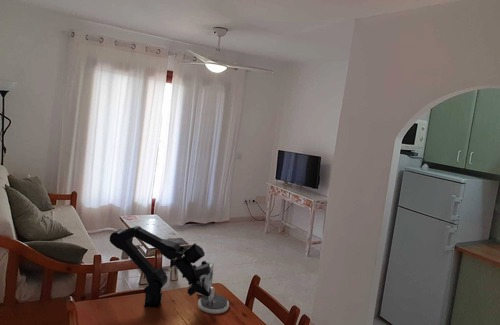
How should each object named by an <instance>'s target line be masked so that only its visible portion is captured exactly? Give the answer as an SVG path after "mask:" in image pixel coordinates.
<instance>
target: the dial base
mask: <svg viewBox="0 0 500 325" xmlns="http://www.w3.org/2000/svg"><path fill="white" fill-rule="evenodd" d="M201 298H202V297H200V298H199V299H198V302H197V308H199V310H201V311H202V312H204V313H207V314H215V315H216V314H223V313H226V312H227V311H228V310H229V307H230V302H229V301H228V299H227V305H226V306H225V307H224V308H221V309H210V308H206V307H204V306H203V305H202V304H201Z"/></svg>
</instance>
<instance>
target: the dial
mask: <svg viewBox="0 0 500 325" xmlns="http://www.w3.org/2000/svg"><path fill="white" fill-rule="evenodd" d="M215 289H216V288H215V286H212V287H209V294H210V296H208V297H207V296H203V295H202V297H200V298H201V304H202V305H203V306H204V307H206V308H210V309H221V308H224V307H225V306H226V305H227V300H228V299H227V298H226V297H224V296H223V295H220V294H215Z"/></svg>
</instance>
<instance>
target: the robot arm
mask: <svg viewBox="0 0 500 325" xmlns="http://www.w3.org/2000/svg"><path fill="white" fill-rule="evenodd" d="M132 238H136V239H138V240H140V241H141V242H144V243H146V244H147V245H149V246H151V247H152V248H155V249H156V250H158V251H159V253H160V254H161V255H162V256H163V257H165V258H166V259H167V260H169V261H170V265H169V268H170V269H172V268H174V266H175V268H176V269H177V270H178V271H179V272H180V273H181V277H182V279H185V280H186V281H187V285H188V288H187V290H186V291H187V294H188V296H189V297H191V296H193V295H194V294H195V293H197V292H198V293H200V294H203V295H205V296H207V297H208V296H210V294H209V292H208V290H207V288H206V285H205V277H204V278H203V279H202V278H200V277H201V276H202V275H205V274H209V273H210V270H211V269H210V264H209V263H210V262H209V263H207V262H208V261H206V260H202V261H201V263H200V264H201V265H200V264H199V265H200V266H199V265H198V266H196V264H195V263H196V262H198V261H199V260H201V259H202V258H204V256H205V251H204V249H203V248H202V247H201V246H200V245H198V244H197V243H193V244H192V245H190V247H185V246H182V245H180V244H179V243H178V242H175V241H171V240H167V239H166V240H165V239H164V238H161V237H159V236H157V235H155V234H153V233H152V232H150V231H148V230H146V229H144V228H142V227H141V226H140V225H136V226H133V227H129V228H127V229H125V228H120V229H117V230H116V231H113V232H112V233H110V235H109V242H110V244H112V245H113V246H114V247H115V248H116V249H117V250H121V251H122V252H124V253H125V254H126V256H128V258H129V259H130V260H131V261H132V262H133V263H134V265H136V267H137V268H138V270H140V271H141V273H142V274H144V275H145V279H146V282H147V285H146V286H145V287H144V288H143V291H144V294H145V296H144V297H145V298H144V303H143V307H148V308H149V307H150V308H160V305H161V304H162V299H163V292H162V288H164V286H165V285H166V284H167V282H168V276H167V273H166V272H165V271H164V270H163V268H162V267H158V268H157V267H154V266H153V264H152V263H151V262H150V261H149V260H148V259H147V257H145V255H143V253H142V252H141V251H140V250H139V248H137V247H136V246H135V244H133V240H132ZM203 295H202V296H203Z"/></svg>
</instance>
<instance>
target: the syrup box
mask: <svg viewBox="0 0 500 325" xmlns="http://www.w3.org/2000/svg"><path fill="white" fill-rule="evenodd" d="M206 262H207V263H209V264H210V269H211V270H210V273H209V274H205V275H202V276H201V277H200V278H202V279H203V278H204V277H205V285H206V288H207V290H208V292H209V287H213V275H214V267H215V266H214V263H213V262H208V261H206ZM200 265H201V263H200V264H199V265H198V266H200ZM196 294H197V295H198V296H202V297H203V296H205V295H203V294H200V293H198V292H196Z"/></svg>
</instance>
